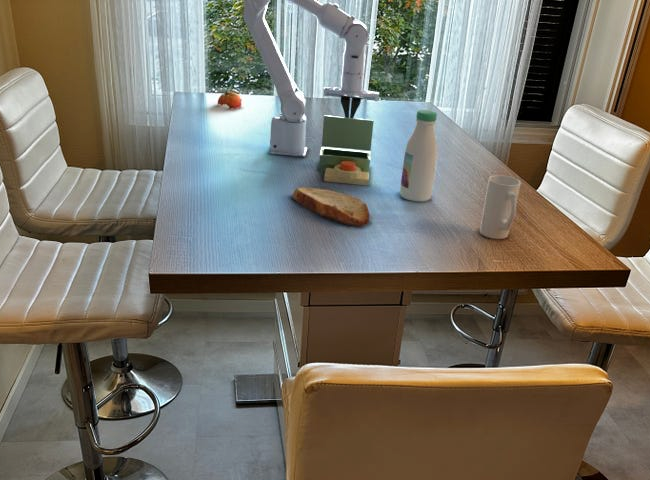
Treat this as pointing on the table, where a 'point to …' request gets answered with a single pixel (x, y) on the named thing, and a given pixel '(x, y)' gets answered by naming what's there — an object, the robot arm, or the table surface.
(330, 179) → the switch block
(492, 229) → the mug
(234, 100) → the tomato
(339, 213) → the bread slice
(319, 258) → the table surface
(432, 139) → the milk bottle
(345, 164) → the switch
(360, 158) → the box
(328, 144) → the lid
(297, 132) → the robot arm
